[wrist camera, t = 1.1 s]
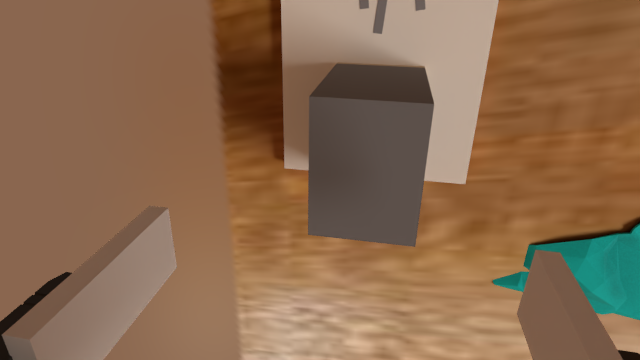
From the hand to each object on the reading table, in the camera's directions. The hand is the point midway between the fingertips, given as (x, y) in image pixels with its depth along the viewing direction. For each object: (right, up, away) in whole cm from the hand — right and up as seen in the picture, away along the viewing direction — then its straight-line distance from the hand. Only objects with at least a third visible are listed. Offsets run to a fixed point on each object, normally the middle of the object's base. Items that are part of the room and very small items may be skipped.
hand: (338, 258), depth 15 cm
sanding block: (+3, +7, +16) cm, 18 cm away
